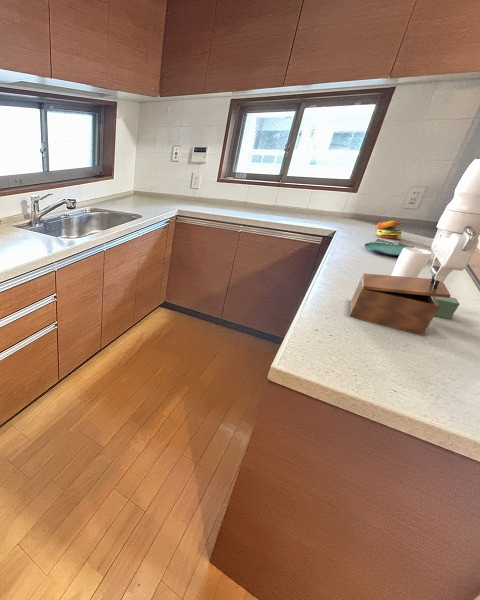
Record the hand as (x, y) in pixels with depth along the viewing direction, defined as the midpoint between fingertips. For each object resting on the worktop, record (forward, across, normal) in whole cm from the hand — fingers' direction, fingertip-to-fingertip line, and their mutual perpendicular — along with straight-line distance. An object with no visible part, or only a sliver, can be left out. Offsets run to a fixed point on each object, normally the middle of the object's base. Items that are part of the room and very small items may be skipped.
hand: (436, 276), depth 85 cm
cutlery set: (+15, +87, 0) cm, 88 cm away
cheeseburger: (+15, +118, +1) cm, 119 cm away
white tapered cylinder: (+15, +25, +2) cm, 29 cm away
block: (+15, +14, -7) cm, 21 cm away
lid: (+4, 0, +5) cm, 7 cm away
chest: (+14, 0, +6) cm, 16 cm away
